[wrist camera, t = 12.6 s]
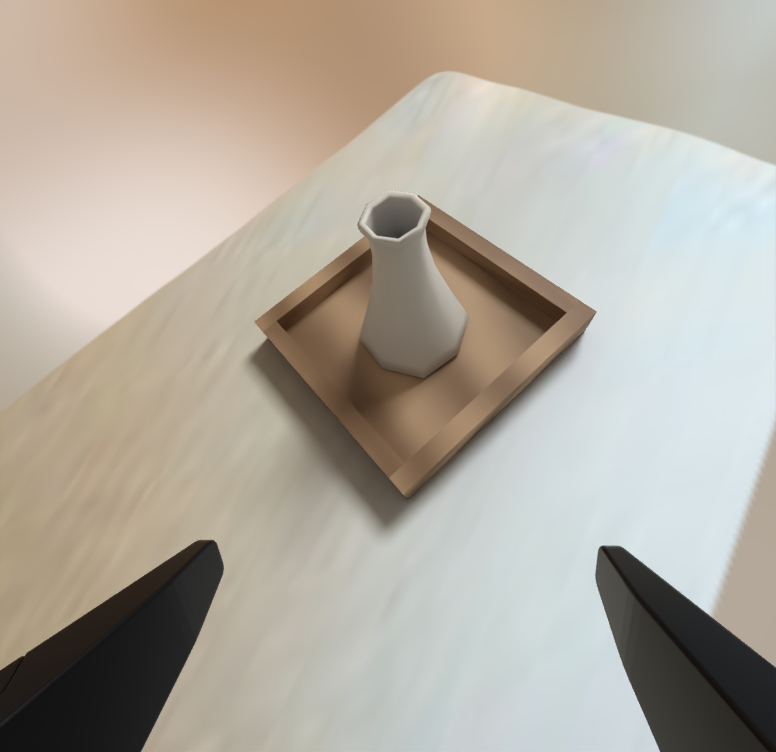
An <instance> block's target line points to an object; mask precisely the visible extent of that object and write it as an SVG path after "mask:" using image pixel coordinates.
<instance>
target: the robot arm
mask: <svg viewBox="0 0 776 752" xmlns="http://www.w3.org/2000/svg"><path fill="white" fill-rule="evenodd" d="M223 570H224V565H223V561H222V558H221V555H220V552H219V549H218V546H217V543H216V542H215V541H213V540H198V541H196V542H194V543H193V544H191V545H190V546H188V547H187V548H185V549H184V550H182V551H181V552H179V553H178V554H176V555H175V556H173V557H172V558H170V559H168V560H167V561H165V562H164V563H162V564H161V565H159V566H158V567H156V568H155V569H153V570H152V571H150V572H149V573H147V574H146V575H144V576H143V577H141V578H140V579H138V580H137V581H135V582H134V583H132V584H131V585H129V586H128V587H126V588H125V589H123V590H122V591H120V592H118V593H117V594H115V595H114V596H112V597H111V598H109V599H108V600H106V601H105V602H103V603H102V604H100V605H99V606H97V607H96V608H94V609H93V610H91V611H90V612H88V613H87V614H85V615H84V616H82V617H81V618H79V619H78V620H76V621H75V622H73V623H72V624H70V625H68V626H67V627H65V628H64V629H62V630H61V631H59V632H58V633H56V634H55V635H53V636H52V637H50V638H49V639H47V640H46V641H44V642H43V643H41V644H40V645H38V646H37V647H35V648H34V649H32V650H31V651H29V652H28V653H27V654H26V655H25V656H22V657H20V658H18V659H17V660H15V661H14V662H12V663H11V664H9V665H8V666H6V667H5V668H3V669H2V670H0V752H141V751H142V749H143V747H144V745H145V743H146V741H147V739H148V737H149V735H150V733H151V731H152V729H153V727H154V725H155V723H156V721H157V719H158V717H159V715H160V713H161V711H162V709H163V707H164V705H165V703H166V701H167V699H168V697H169V695H170V693H171V691H172V689H173V687H174V685H175V683H176V681H177V679H178V677H179V675H180V673H181V671H182V669H183V667H184V665H185V663H186V661H187V659H188V657H189V655H190V653H191V650H192V648H193V646H194V644H195V642H196V640H197V638H198V635H199V633H200V631H201V628H202V626H203V623H204V621H205V618H206V616H207V613H208V611H209V608H210V605H211V603H212V600H213V598H214V595H215V593H216V590H217V588H218V585H219V583H220V580H221V578H222V575H223ZM595 576H596V583H597V587H598V590H599V593H600V596H601V600H602V603H603V606H604V609H605V612H606V615H607V618H608V621H609V624H610V627H611V630H612V633H613V636H614V639H615V643H616V646H617V649H618V652H619V655H620V658H621V660H622V663H623V666H624V669H625V671H626V673H627V676H628V678H629V681H630V683H631V685H632V688H633V690H634V692H635V695H636V697H637V699H638V701H639V704H640V706H641V708H642V711H643V713H644V715H645V718H646V720H647V722H648V725H649V727H650V729H651V731H652V734H653V736H654V738H655V741H656V743H657V745H658V748H659V750H660V752H776V667H774V666H773V665H772V664H771V663H769V662H768V661H767V660H765V659H764V658H763V657H762V656H760V655H759V654H758V653H757V652H755V651H754V650H753V649H751V648H750V647H749V646H748V645H746V644H745V643H744V642H742V641H741V640H740V639H738V638H737V637H736V636H735V635H733V634H732V633H731V632H730V631H729V630H727V629H726V628H725V627H723V626H722V625H721V624H720V623H718V622H717V621H716V620H715V619H713V618H712V617H711V616H709V615H708V614H707V613H706V612H704V611H703V610H702V609H700V608H699V607H698V606H697V605H695V604H694V603H693V602H692V601H690V600H689V599H688V598H686V597H685V596H684V595H683V594H681V593H680V592H679V591H678V590H676V589H675V588H674V587H672V586H671V585H670V584H669V583H667V582H666V581H665V580H664V579H662V578H661V577H660V576H658V575H657V574H656V573H655V572H653V571H652V570H651V569H650V568H648V567H647V566H646V565H644V564H643V563H642V562H641V561H639V560H638V559H637V558H636V557H634V556H633V555H632V554H630V553H629V552H628V551H627V550H625V549H624V548H622V547H620V546H601V547H600V548H599V550H598V556H597V565H596V574H595Z"/></svg>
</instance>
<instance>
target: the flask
mask: <svg viewBox="0 0 776 752" xmlns="http://www.w3.org/2000/svg"><path fill="white" fill-rule="evenodd" d="M430 214H431V208H430V207H429V206H428V205H427V204H426V203H425V202H424V201H422V200H421V199H420V198H419V197H418V196H417V195H415V194H414V193H406V192H396V191H387V192H386V193H384V194H382V195H381V196H379V197H378V198H376V199H374V200H373V201H371V202H370V203H368V204H367V205H366V207H365V209H364V211H363V213H362V215H361V218H360V220H359V222H358V224H357V225H358V229H359V230H360V232H361V233H362V234H363V235H364V236H365V237H366V238H367V239H368V240H369V244H370V248H371V252H372V272H373V279H372V284H371V289H370V295H369V300H368V305H367V310H366V313H365V317H364V321H363V325H362V329H361V333H360V338H359V340H360V341H361V342H362V343H363V345H364V346H365V347H366V349H367V350H368V351H369V352H370V354H371V355H372V356H373V357H374V359H375V360H376V361H377V363H378V364H379V365H380V366H381V368H383V369H387V370H391V371H395V372H400V373H404V374H408V375H412V376H416V377H420V378H425V377H426V376H427V375H429V374H430V373H432V372H433V371H434V370H436V369H437V368H439V367H440V366H441V365H443V364H444V363H446V362H447V361H449V360H450V359H451V358H453V357H454V356H456V355H457V354H458V353H459V351H460V347H461V344H462V340H463V337H464V333H465V330H466V326H467V323H468V319H469V316H468V314H467V313H466V311H465V310H464V308H463V307H462V305H461V304H460V303H459V301H458V300H457V298H456V297H455V296H454V294H453V293H452V291H451V290H450V288H449V287H448V285H447V284H446V282H445V280H444V279H443V277H442V276H441V274H440V272H439V271H438V269H437V268H436V266H435V264H434V261H433V258H432V255H431V252H430V249H429V247H428V244H427V238H426V229H425V228H426V225H427V223H428V220H429V217H430Z"/></svg>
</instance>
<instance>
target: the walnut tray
mask: <svg viewBox="0 0 776 752" xmlns="http://www.w3.org/2000/svg"><path fill="white" fill-rule="evenodd" d="M418 197H419V198H420V199H421V200H422V201H424V202H425V203H426V204H427V205H428V206H429V207H430V208H431V214H430V217H429V220H428V223H427V225H426V228H425V229H426V238H427V244H428V247H429V249H430V252H431V255H432V258H433V261H434V264H435V266H436V268H437V269H438V271H439V272H440V274H441V276H442V277H443V279H444V280H445V282H446V284H447V285H448V287H449V288H450V290H451V291H452V293H453V294H454V296H455V297H456V298H457V300H458V301H459V303H460V304H461V305H462V307H463V308H464V310H465V311H466V313H467V314H468V316H469V319H468V323H467V326H466V330H465V333H464V337H463V340H462V344H461V347H460V351H459V353H458V354H457V355H456V356H454V357H453V358H451V359H450V360H449V361H447V362H446V363H444V364H443V365H441V366H440V367H439V368H437V369H436V370H434V371H433V372H432V373H430V374H429V375H427V376H426V377H425V378H420V377H416V376H412V375H408V374H404V373H400V372H395V371H391V370H387V369H383V368H381V366H380V365H379V364H378V363H377V361H376V360H375V359H374V357H373V356H372V355H371V354H370V352H369V351H368V350H367V349H366V347H365V346H364V345H363V343H362V342H361V341H360V340H359V338H360V333H361V329H362V325H363V321H364V317H365V313H366V310H367V305H368V300H369V295H370V289H371V284H372V279H373V272H372V252H371V248H370V244H369V240H368V239H367V238H366V237H363V238H362V239H361V240H359V241H358V242H357V243H355V244H354V245H353V246H352V247H350V248H349V249H348V250H346V251H345V252H344V253H343V254H341V255H340V256H339V257H337V258H336V259H335V260H333V261H332V262H331V263H330V264H328V265H327V266H326V267H324V268H323V269H322V270H320V271H319V272H318V273H317V274H315V275H314V276H313V277H311V278H310V279H309V280H308V281H306V282H305V283H304V284H302V285H301V286H300V287H298V288H297V289H296V290H295V291H293V292H292V293H291V294H289V295H288V296H287V297H285V298H284V299H283V300H282V301H280V302H279V303H278V304H276V305H275V306H274V307H273V308H271V309H270V310H269V311H267V312H266V313H265V314H263V315H262V316H261V317H260V318H258V319H257V320H256V321H254V322H255V323H256V324H257V326H258V327H259V328H260V329H261V330H262V331H263V333H264V334H265V335H266V336H267V337H268V338H269V340H270V341H271V342H272V343H273V344H274V345H275V346H276V348H277V349H278V350H279V351H280V352H281V353H282V355H283V356H284V357H285V358H286V359H287V360H288V362H289V363H290V364H291V365H292V366H293V367H294V369H295V370H296V371H297V372H298V373H299V374H300V376H301V377H302V378H303V379H304V380H305V381H306V383H307V384H308V385H309V386H310V387H311V388H312V389H313V391H314V392H315V393H316V394H317V395H318V396H319V398H320V399H321V400H322V401H323V402H324V403H325V405H326V406H327V407H328V408H329V409H330V410H331V412H332V413H333V414H334V415H335V416H336V417H337V419H338V420H339V421H340V422H341V423H342V424H343V425H344V427H345V428H346V429H347V430H348V431H349V432H350V434H351V435H352V436H353V437H354V438H355V439H356V441H357V442H358V443H359V444H360V445H361V446H362V448H363V449H364V450H365V451H366V452H367V453H368V455H369V456H370V457H371V458H372V459H373V460H374V462H375V463H376V464H377V465H378V466H379V467H380V468H381V470H382V471H383V472H384V473H385V474H386V475H387V477H388V478H389V479H390V480H391V481H392V482H393V484H394V485H395V486H396V487H397V488H398V489H399V491H400V492H401V493H402V494H403V495H404V496H405V497H406V498H407V499H409V498H410V497H411V496H412V495H413V494H414V493H415V492H416V491H417V490H418V489H419V488H420V487H421V486H423V485H424V484H425V483H426V482H427V481H428V480H429V479H430V478H431V477H432V476H433V475H434V474H435V473H436V472H437V471H438V470H439V469H440V468H441V467H442V466H443V465H445V464H446V463H447V462H448V461H449V460H450V459H451V458H452V457H453V456H454V455H455V454H456V453H457V452H458V451H459V450H460V449H461V448H462V447H463V446H464V445H466V444H467V443H468V442H469V441H470V440H471V439H472V438H473V437H474V436H475V435H476V434H477V433H478V432H479V431H480V430H481V429H482V428H483V427H484V426H485V425H487V424H488V423H489V422H490V421H491V420H492V419H493V418H494V417H495V416H496V415H497V414H498V413H499V412H500V411H501V410H502V409H503V408H504V407H505V406H506V405H508V404H509V403H510V402H511V401H512V400H513V399H514V398H515V397H516V396H517V395H518V394H519V393H520V392H521V391H522V390H523V389H524V388H525V387H526V386H527V385H529V384H530V383H531V382H532V381H533V380H534V379H535V378H536V377H537V376H538V375H539V374H540V373H541V372H542V371H543V370H544V369H545V368H546V367H547V366H548V365H550V364H551V363H552V362H553V361H554V360H555V359H556V358H557V357H558V356H559V355H560V354H561V353H562V352H563V351H564V350H565V349H566V348H567V347H568V346H569V345H571V344H572V343H573V342H574V341H575V340H576V339H577V338H578V337H579V336H580V335H581V334H582V333H583V332H584V331H585V330H586V328H587V327H588V325H589V323H590V322H591V320H592V319H593V317H594V315H595V314H596V311H595V310H593V309H592V308H590V307H589V306H587V305H586V304H584V303H583V302H581V301H579V300H578V299H576V298H575V297H573V296H572V295H570V294H569V293H567V292H566V291H564V290H563V289H561V288H560V287H558V286H556V285H555V284H553V283H552V282H550V281H549V280H547V279H546V278H544V277H543V276H541V275H540V274H538V273H537V272H535V271H534V270H532V269H530V268H529V267H527V266H526V265H524V264H523V263H521V262H520V261H518V260H517V259H515V258H514V257H512V256H511V255H509V254H507V253H506V252H504V251H503V250H501V249H500V248H498V247H497V246H495V245H494V244H492V243H491V242H489V241H488V240H486V239H484V238H483V237H481V236H480V235H478V234H477V233H475V232H474V231H472V230H471V229H469V228H468V227H466V226H465V225H463V224H462V223H460V222H458V221H457V220H455V219H454V218H452V217H451V216H449V215H448V214H446V213H445V212H443V211H442V210H440V209H439V208H437V207H435V206H434V205H432V204H431V203H429V202H428V201H426V200H425V199H423V198H422V197H420V196H419V195H418Z"/></svg>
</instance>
